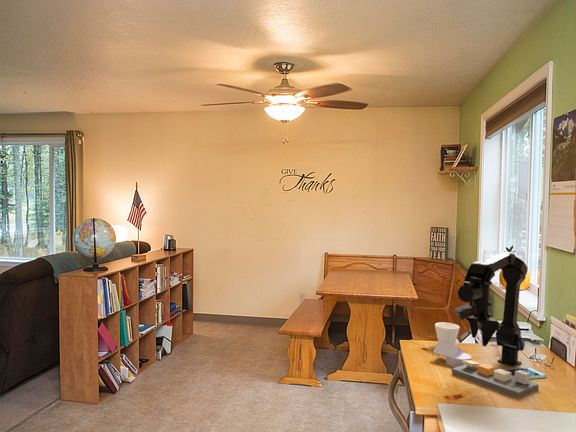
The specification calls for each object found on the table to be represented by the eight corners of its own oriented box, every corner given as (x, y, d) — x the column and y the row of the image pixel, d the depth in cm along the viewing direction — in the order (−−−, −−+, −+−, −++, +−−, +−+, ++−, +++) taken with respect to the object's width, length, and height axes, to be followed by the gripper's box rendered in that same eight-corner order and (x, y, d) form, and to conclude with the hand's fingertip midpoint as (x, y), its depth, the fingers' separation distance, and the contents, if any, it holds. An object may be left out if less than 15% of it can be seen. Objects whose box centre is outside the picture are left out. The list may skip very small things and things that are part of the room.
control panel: (472, 367, 173) (473, 359, 173) (538, 389, 153) (538, 381, 153) (451, 374, 165) (452, 366, 165) (518, 398, 146) (518, 390, 146)
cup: (455, 352, 189) (456, 330, 189) (431, 347, 194) (432, 326, 194) (460, 346, 198) (461, 324, 197) (437, 341, 203) (438, 321, 203)
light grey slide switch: (519, 379, 156) (519, 369, 156) (529, 382, 153) (529, 373, 153) (514, 380, 154) (514, 371, 154) (524, 384, 152) (525, 374, 151)
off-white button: (499, 375, 160) (499, 368, 159) (510, 379, 156) (511, 372, 156) (493, 378, 157) (493, 370, 157) (504, 382, 154) (504, 374, 154)
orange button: (483, 370, 164) (483, 363, 164) (494, 373, 161) (494, 366, 161) (477, 372, 162) (477, 365, 162) (487, 376, 159) (488, 369, 159)
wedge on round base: (432, 361, 178) (466, 370, 170) (432, 344, 178) (466, 352, 169) (441, 355, 185) (474, 363, 176) (442, 339, 185) (475, 346, 176)
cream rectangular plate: (471, 363, 169) (471, 360, 169) (481, 366, 166) (481, 363, 166) (461, 363, 166) (462, 360, 166) (471, 366, 163) (472, 363, 163)
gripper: (448, 292, 171) (447, 333, 172) (467, 304, 153) (466, 350, 154) (478, 292, 171) (477, 333, 172) (501, 304, 153) (499, 351, 153)
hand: (478, 341), depth 163 cm, fingers open, 9 cm apart
